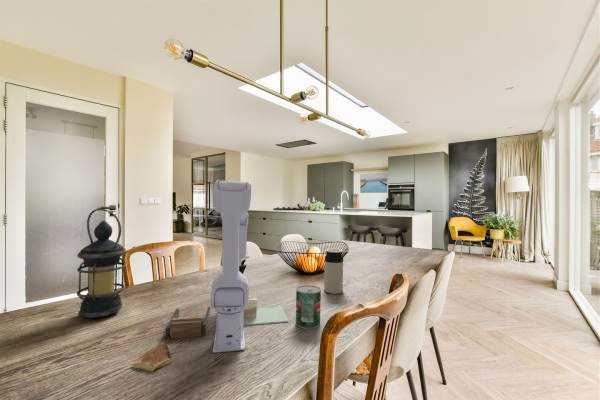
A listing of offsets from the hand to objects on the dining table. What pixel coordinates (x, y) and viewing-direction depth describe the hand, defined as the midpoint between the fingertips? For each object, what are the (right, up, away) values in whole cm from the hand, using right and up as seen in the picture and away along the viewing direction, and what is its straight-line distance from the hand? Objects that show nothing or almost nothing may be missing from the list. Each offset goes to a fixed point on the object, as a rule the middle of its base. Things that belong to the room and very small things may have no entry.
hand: (237, 281), depth 99 cm
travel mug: (+37, -11, +21) cm, 44 cm away
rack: (-11, -9, -15) cm, 21 cm away
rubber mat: (+8, -10, -7) cm, 14 cm away
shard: (-13, -10, -33) cm, 37 cm away
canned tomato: (+25, -10, -12) cm, 29 cm away
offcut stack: (-10, -9, -20) cm, 24 cm away
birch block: (+4, -9, -8) cm, 13 cm away
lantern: (-44, -9, -8) cm, 45 cm away
